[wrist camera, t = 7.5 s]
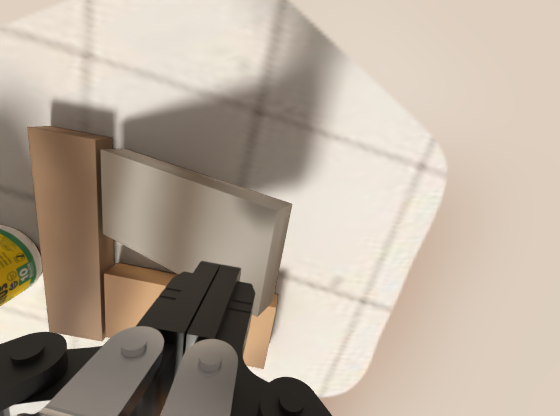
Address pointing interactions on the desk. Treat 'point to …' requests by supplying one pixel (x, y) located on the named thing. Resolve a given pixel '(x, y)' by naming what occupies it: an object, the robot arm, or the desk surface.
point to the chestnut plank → (146, 289)
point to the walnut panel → (71, 228)
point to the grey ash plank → (193, 220)
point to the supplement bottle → (17, 263)
